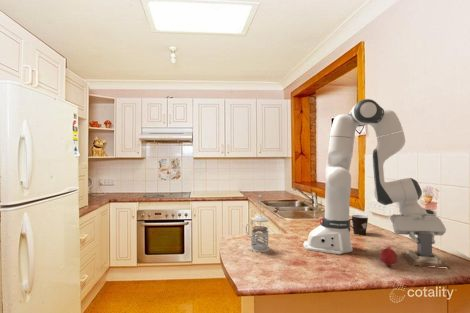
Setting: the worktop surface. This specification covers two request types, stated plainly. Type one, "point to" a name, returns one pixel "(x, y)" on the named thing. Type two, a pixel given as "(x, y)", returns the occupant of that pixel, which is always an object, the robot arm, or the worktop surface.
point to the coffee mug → (359, 224)
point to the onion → (388, 256)
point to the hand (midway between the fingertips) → (425, 243)
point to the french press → (259, 234)
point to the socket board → (424, 259)
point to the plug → (424, 243)
